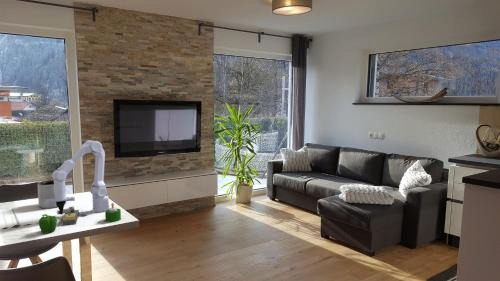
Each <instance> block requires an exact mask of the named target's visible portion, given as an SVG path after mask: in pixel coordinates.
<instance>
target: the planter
mask: <svg viewBox="0 0 500 281" xmlns="http://www.w3.org/2000/svg"><path fill="white" fill-rule="evenodd" d="M37 197H38V198H37V200H38V207H40V208H41V209H54V208H58V207H57V205H56V202H54V203H47V204H46V200H47V199H53V198H55V191H54V179H50V180H42V181H40V182H37ZM66 204H67V202H66V203H65V205H66Z"/></svg>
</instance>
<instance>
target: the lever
mask: <svg viewBox="0 0 500 281" xmlns="http://www.w3.org/2000/svg"><path fill="white" fill-rule="evenodd" d="M74 210H75V206H69V207H67V208H63V214H62V215H64V214H65V213H68V212H73V211H74ZM56 214H57V215H61V213H60V210H59V209H58V210H56Z"/></svg>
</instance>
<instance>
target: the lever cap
mask: <svg viewBox="0 0 500 281" xmlns="http://www.w3.org/2000/svg"><path fill="white" fill-rule="evenodd" d="M75 217H76V213H69V214H65V213H64V214H63V216H62V219H63V221H65V220H74V219H75Z"/></svg>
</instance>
